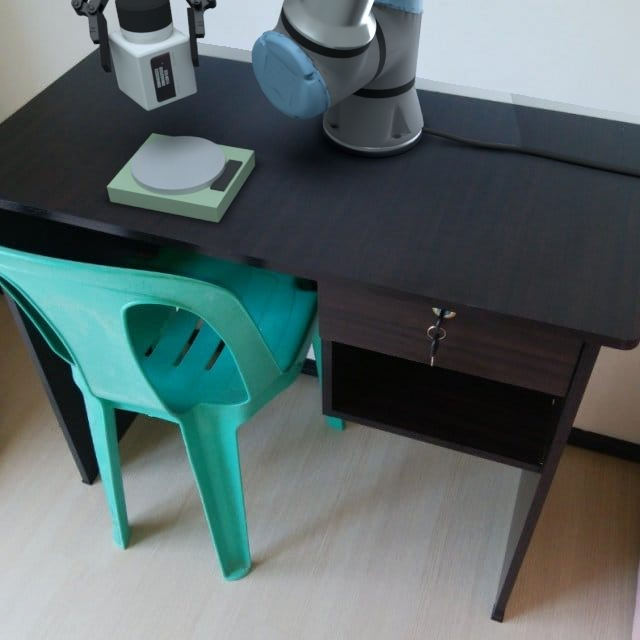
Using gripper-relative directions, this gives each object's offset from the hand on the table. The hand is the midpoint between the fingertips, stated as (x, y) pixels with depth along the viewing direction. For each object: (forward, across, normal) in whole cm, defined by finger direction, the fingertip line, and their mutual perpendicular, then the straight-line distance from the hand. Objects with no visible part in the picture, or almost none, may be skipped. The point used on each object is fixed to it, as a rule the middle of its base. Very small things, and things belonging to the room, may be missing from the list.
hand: (151, 66), depth 94 cm
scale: (+13, -2, -12) cm, 17 cm away
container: (+2, 0, -6) cm, 6 cm away
